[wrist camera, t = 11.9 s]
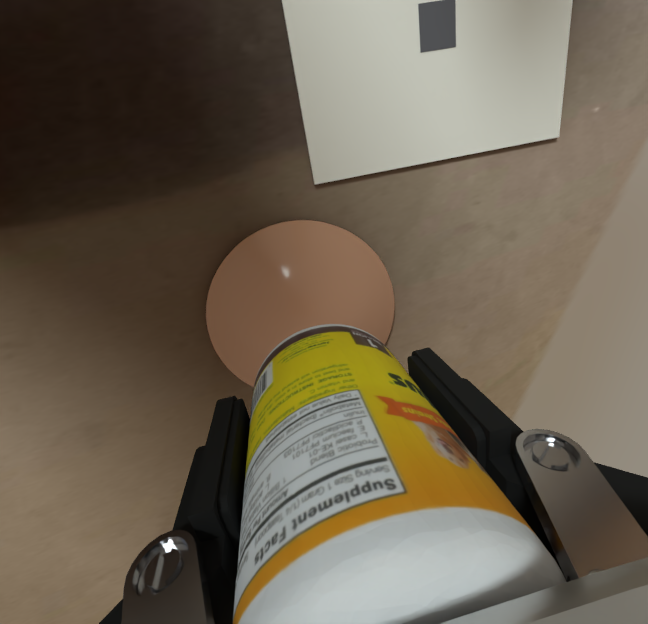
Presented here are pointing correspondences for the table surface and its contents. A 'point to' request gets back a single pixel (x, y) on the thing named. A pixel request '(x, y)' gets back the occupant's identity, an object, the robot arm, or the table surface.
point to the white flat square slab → (424, 78)
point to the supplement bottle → (368, 498)
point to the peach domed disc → (294, 291)
